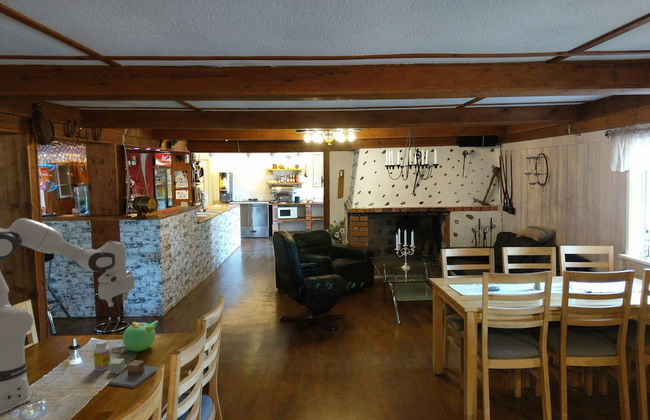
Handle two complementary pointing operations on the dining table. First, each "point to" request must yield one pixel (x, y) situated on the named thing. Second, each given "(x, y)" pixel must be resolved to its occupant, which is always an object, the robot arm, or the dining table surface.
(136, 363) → the walnut cube
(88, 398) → the dining table surface
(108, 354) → the supplement bottle
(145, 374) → the slate board
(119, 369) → the sage cube
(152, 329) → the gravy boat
